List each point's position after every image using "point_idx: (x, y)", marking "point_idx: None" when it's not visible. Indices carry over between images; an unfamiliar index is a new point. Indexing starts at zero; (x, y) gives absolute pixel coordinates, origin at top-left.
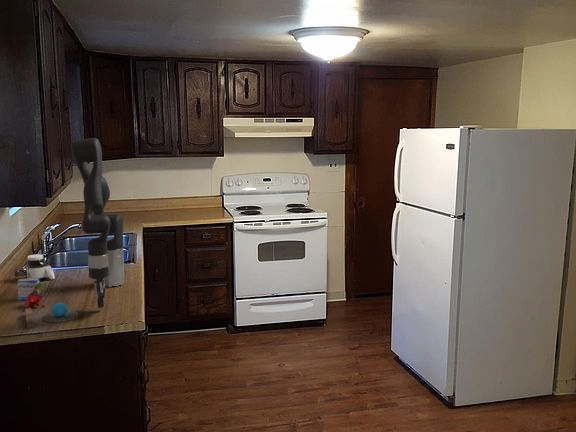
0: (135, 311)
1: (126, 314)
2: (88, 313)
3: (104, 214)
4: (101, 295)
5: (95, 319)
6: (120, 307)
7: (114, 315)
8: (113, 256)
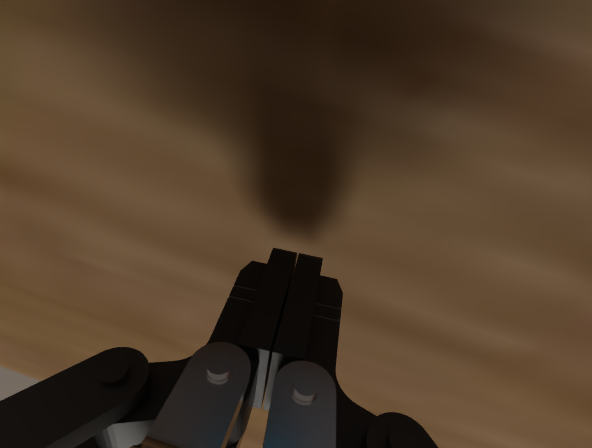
0: None
1: (95, 344)
2: (286, 93)
3: None
4: (100, 445)
5: (16, 95)
6: None
7: (98, 280)
8: None
